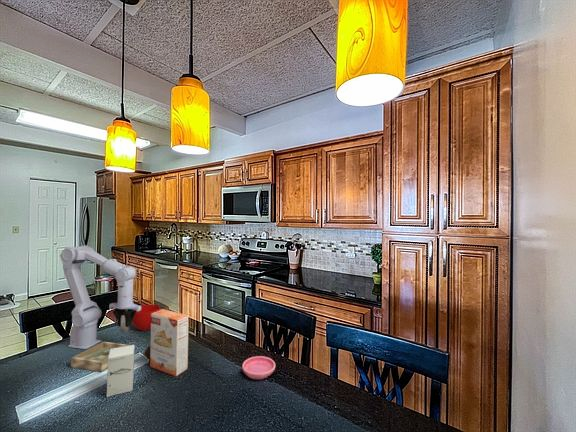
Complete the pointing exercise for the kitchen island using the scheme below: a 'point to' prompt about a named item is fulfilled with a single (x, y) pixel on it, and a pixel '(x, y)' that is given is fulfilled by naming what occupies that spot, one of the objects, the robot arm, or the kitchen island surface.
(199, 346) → the kitchen island surface
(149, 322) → the red bowl
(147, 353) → the bolt
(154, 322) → the cracker box
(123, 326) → the peg
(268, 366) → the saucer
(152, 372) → the kitchen island surface
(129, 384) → the supplement box
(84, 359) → the open box
